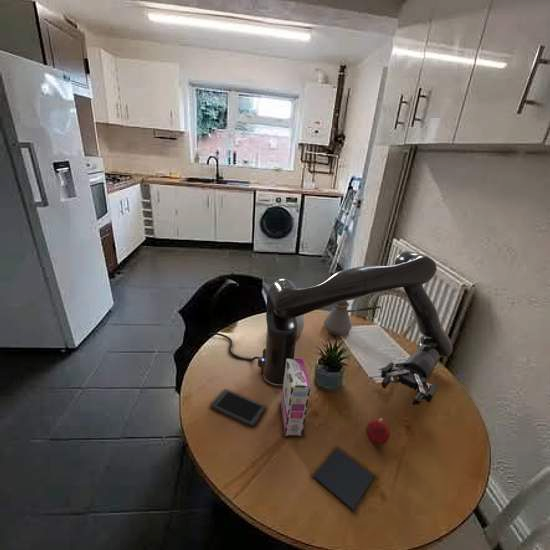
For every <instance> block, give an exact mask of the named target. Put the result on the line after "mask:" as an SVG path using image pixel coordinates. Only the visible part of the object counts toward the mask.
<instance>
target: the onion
mask: <svg viewBox="0 0 550 550" xmlns="http://www.w3.org/2000/svg"><path fill="white" fill-rule="evenodd" d="M365 435H366V437H367V440H368V441H369V442H370V443H371V444H373V445H376V446H379V447H380V446H384V445H386V443H388V441H389V439H390V436H391V431H390V428H389V426H388V424H387V422H385V421H384V419H383V418H382V417H380V418H375V419H372V420H370V421H368V423H367V424H366V427H365Z"/></svg>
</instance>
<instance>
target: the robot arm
mask: <svg viewBox="0 0 550 550" xmlns="http://www.w3.org/2000/svg"><path fill="white" fill-rule="evenodd" d="M437 271H438V268H437V263H436V262H435V260H434V259H432V258H431V257H429V256H428V255H425V254H422V253H418V252H415V251H411V250H410V251H402V252H400V253H399V254H398V255H397V257H396V258H395V260H394V264H393V265H362V266H361V265H360V266H355V267H351V268H347V269H343V270H340V271H337V272H336V273H334V274H333V275H331V276H330V277H328V278H327V279H326V280H325V281H323V282H322V283H320V284H317V285H314V286H309V287H306V288H305V287H304V288H298V287H297V285H296V284H295V283H294V282H293V281H292V280H289V279H286V278H281V279H278V280H275V281H274V282H272V284H271V285H270V286H269V288H268V291H267V296H266V310H265V311H266V313H265V318H266V319H265V320H266V338H265V339H266V340H265V348H263V349H262V356H253V357H252V358H251V357H250V358H247V357H242V356H239V355H237V354H235V353H233V351H232V346H233V340H232V339H231V338H230V337H229V336H228V335H225V334H223V333H220V332H211V333H209V334H207V336H208V337H211V336H220V337H223V338H225V339H227V340H228V341H229V347H228V353H229V354H230V355H231V356H232V357H234V358H236V359H239V360H242V361H249V362H253V361H255V360H257V367H258V368H260V369H261V372H260V374H261V375H262V377H263V380H264V382H266V383H267V384H268V385H270V386H272V387H283V383H284V375H285V367H286V359H295V354H296V346H297V345H296V344H297V338H298V336H297V329H298V325H297V321H296V317H298V316H301V315H303V314H304V315H306V314H309V313H312V312H314V311H316V310H321V309H323V308H326V307H330V306H332V305H334V304H337V303H341V302H345V301H347V302H348V301H353V300H357V299H361V298H365V297H368V296H371V295H375V294H379V293H384V292H387V291H390V290H395V289H396V290H397V289H400V288H401V289H402V288H403V290H404V292H405V294H406V296H407V299H408V301H409V304H410V306H411V309H412V311H413V314H414V318H415V321H416V325H417V328H418V329H417V330H418V331H419V333H420V334H421V335H422V336H420V337H419V338H418V342H417V348H416V350H415V351H414V353H412V354H411V355H410V356H409V357H408V359H407V360H406V361H405V362H404V363H403V364H402V365H401V367H397V366H396V365H395V363H394V362H389V363H388V364H386V366H384V367H383V368H382V371H381V374H380V378H382V380H381V386H382V387H381V388H382V389H384V390H385V389H386V388H387V387H388V386H389V384H390V383H394V384H399V383H400V384H401V385H404V386H407V387H408V389H409V388H410V389H413V391H414V394H415V397H414V398H413V401H412V405H413V406H419V405H420V404H421V402H422V401H423V400H425V401H426V402H427V403H431V402H432V399H433V397H434V395H435V393H436V391H437V387H438V385H437V383H429V382H428V380H429V378H430V377H431V376H432V374H433V372H434V370H435V368H436V366H437V364H438V363H439V361H440V358H448V357H450V356H451V355H452V353H453V349H454V348H453V343H452V340H451V338H450V337H449V335H448V334H447V332H446V331H445V329H444V328H443V326H442V324H441V320H440V316H439V313H438V310H437V307H436V306H435V304H434V301H432V298H431V297H430V296H429V294H428V293H427V291H426V289H425V287H424V285H425V284H426V283H429V282H430V281H431V280H432V279H434V277H435V276H436V273H437ZM425 388H426V390H427V392H426V390H425Z"/></svg>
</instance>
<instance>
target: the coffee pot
mask: <svg viewBox="0 0 550 550" xmlns="http://www.w3.org/2000/svg"><path fill="white" fill-rule="evenodd" d="M349 307H350V303H349V302H348V301H345V302H341V303H337V304H334V306H333V308H332V309H331V310H330V312H329V313H328V314H327V316H326V317H325V319H324V320H323V325H324V326H323V327H324V328H325V330H327V332H329V333H330V334H331V335H334V336H344V335H346V334H348V333H349V332H350V331H351V330H352V322H351V319H350V314H349V313H354V312H365V311H371V310H376V309H379V310H380V312H382V306H380V305H377V306H375V305H374V306H367V307H360V308H355V309H348V308H349Z"/></svg>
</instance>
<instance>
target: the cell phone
mask: <svg viewBox="0 0 550 550" xmlns="http://www.w3.org/2000/svg"><path fill="white" fill-rule="evenodd" d="M210 407H211V408H212V409H213V410H216V411H218V412H220V413H222V414H224V415H227V416H228V417H231V418H232V419H234V420H237V421H239V422H241V423H243V424H245V425H247V426H249V427H254V426H255V425H256V424H257V422H258V421H259V419H260V418H261V416H262V415H263V414H264V411H265V410H266V407H265V406H264V405H263V404H261V403H258V402H256V401H254V400H252V399H249V398H246V397H245V396H242V395H241V394H238V393H235V392H233V391H230V390H228V389H224V390H222V391H221V393H219V395H218V396H217V397H216V398H215V400H214V401H213V402H212V403H211V404H210Z"/></svg>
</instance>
